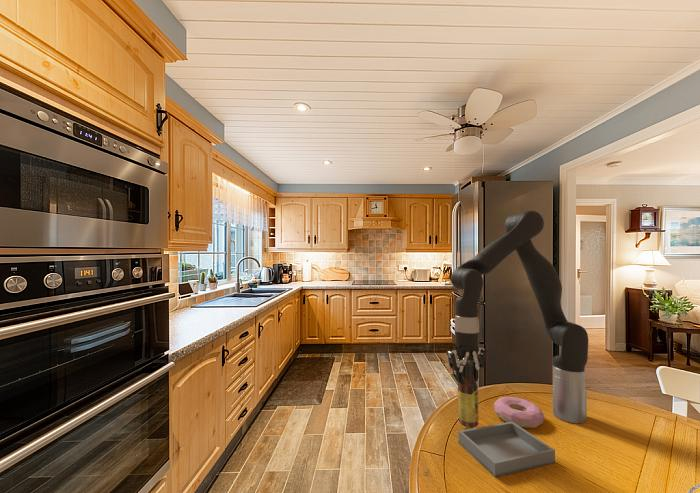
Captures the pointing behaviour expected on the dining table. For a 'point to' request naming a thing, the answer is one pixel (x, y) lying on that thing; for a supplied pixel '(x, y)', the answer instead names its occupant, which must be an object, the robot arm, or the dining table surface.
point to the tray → (506, 448)
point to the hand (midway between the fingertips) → (467, 381)
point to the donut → (519, 412)
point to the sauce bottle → (468, 398)
